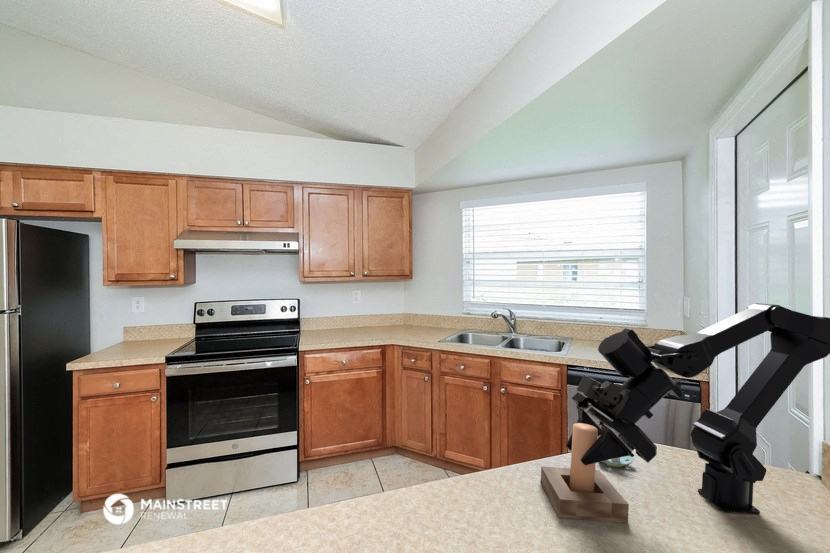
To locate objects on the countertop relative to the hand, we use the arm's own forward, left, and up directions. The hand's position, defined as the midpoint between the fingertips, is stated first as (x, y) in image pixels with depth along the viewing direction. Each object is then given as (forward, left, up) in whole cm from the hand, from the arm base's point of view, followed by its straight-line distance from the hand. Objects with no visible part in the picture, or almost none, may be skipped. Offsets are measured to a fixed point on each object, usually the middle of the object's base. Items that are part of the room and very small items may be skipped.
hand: (574, 455), depth 68 cm
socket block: (-1, 0, -8) cm, 8 cm away
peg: (-1, 0, -7) cm, 8 cm away
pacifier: (-14, -16, -8) cm, 23 cm away
